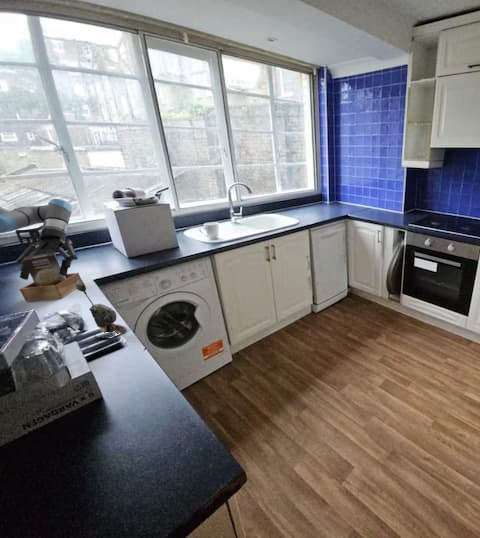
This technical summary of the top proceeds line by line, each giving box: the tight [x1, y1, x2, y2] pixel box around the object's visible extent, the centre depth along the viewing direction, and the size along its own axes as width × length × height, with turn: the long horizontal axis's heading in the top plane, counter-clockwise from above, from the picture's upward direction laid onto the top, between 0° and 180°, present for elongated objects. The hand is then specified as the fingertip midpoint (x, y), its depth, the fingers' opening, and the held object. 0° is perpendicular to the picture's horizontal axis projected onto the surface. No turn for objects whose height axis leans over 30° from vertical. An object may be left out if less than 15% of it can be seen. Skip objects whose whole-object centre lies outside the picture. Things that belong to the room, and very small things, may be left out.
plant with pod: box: [76, 278, 128, 335], centre depth 92 cm, size 8×11×20 cm
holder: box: [14, 224, 53, 254], centre depth 157 cm, size 11×8×20 cm
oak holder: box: [19, 272, 82, 303], centre depth 125 cm, size 13×14×6 cm
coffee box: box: [24, 251, 66, 287], centre depth 122 cm, size 9×6×16 cm
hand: (43, 276), depth 120 cm, fingers open, 13 cm apart
